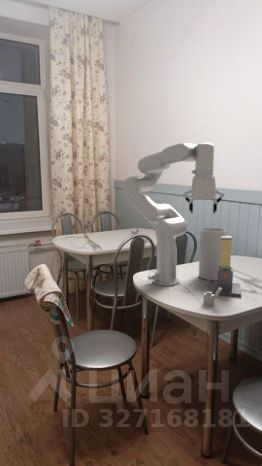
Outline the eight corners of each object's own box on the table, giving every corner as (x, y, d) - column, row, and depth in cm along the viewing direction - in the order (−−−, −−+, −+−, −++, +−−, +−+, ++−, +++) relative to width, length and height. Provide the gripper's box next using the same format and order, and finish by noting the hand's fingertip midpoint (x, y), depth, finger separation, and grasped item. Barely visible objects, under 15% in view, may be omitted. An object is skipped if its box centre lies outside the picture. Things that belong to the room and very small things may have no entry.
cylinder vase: (226, 280, 168) (228, 231, 163) (201, 280, 168) (203, 231, 163) (219, 273, 180) (221, 227, 176) (196, 273, 180) (198, 227, 176)
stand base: (208, 294, 150) (208, 270, 148) (209, 284, 163) (210, 261, 161) (240, 297, 146) (242, 272, 144) (239, 286, 159) (240, 263, 157)
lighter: (203, 303, 139) (203, 285, 138) (204, 302, 141) (205, 284, 139) (220, 307, 136) (221, 288, 134) (221, 305, 137) (222, 287, 136)
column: (219, 274, 151) (221, 237, 148) (219, 271, 156) (221, 235, 153) (230, 275, 150) (232, 238, 147) (230, 272, 155) (232, 236, 152)
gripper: (182, 173, 142) (181, 213, 145) (225, 173, 138) (223, 214, 141) (184, 173, 149) (183, 211, 153) (225, 172, 145) (223, 212, 148)
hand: (202, 212), depth 147 cm, fingers open, 9 cm apart
